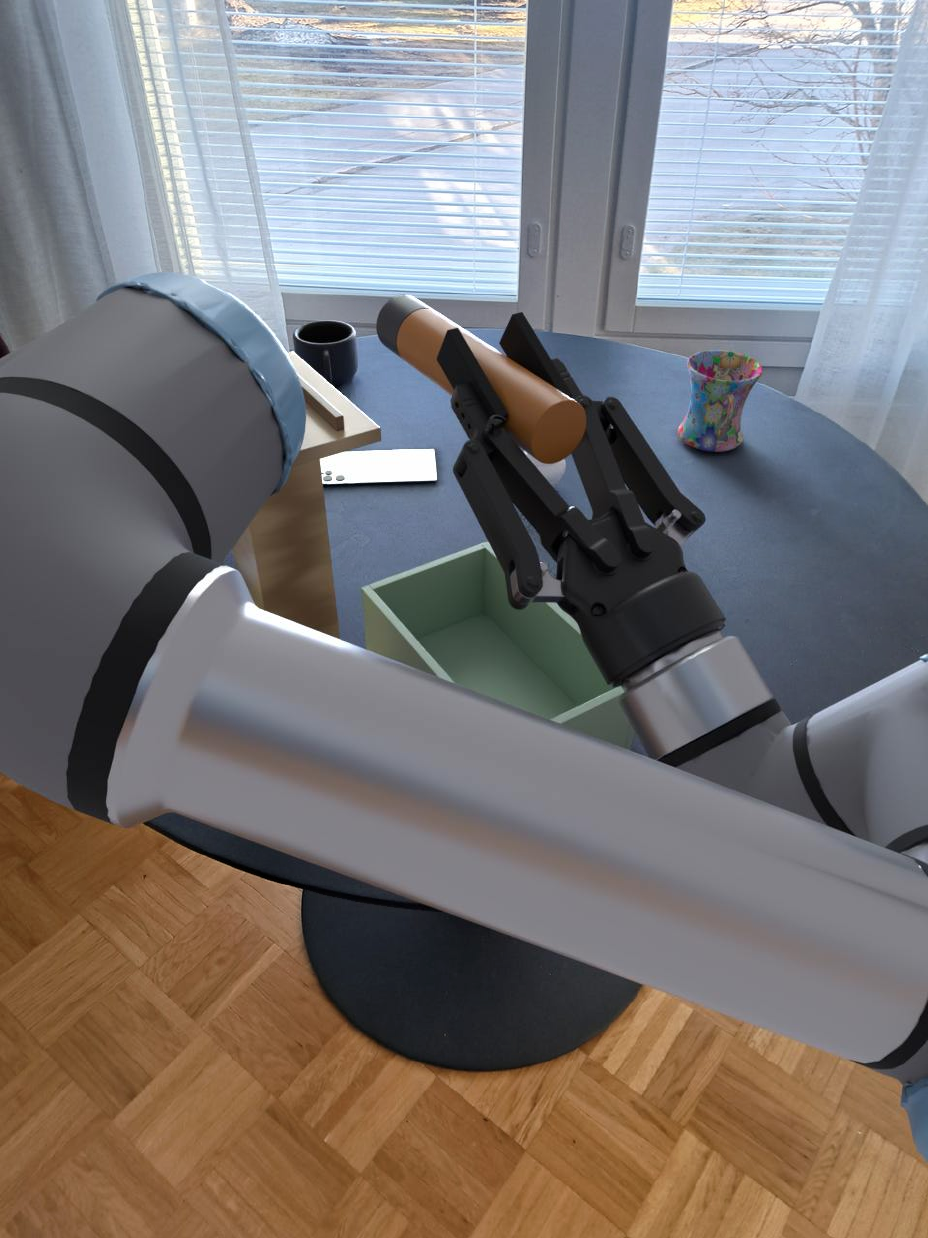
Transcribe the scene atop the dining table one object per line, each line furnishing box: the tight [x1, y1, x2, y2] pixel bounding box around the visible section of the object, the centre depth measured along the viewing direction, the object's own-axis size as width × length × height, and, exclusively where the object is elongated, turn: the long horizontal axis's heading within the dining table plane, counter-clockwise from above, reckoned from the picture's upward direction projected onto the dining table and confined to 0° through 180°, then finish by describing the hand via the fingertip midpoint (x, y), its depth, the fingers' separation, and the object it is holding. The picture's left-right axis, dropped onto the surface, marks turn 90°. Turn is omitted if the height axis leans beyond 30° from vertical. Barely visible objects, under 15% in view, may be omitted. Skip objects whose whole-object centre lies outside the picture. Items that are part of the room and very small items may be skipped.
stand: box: [231, 350, 382, 640], centre depth 68 cm, size 12×14×31 cm
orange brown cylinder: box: [375, 294, 586, 464], centre depth 57 cm, size 4×19×4 cm, turn 32°
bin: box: [360, 541, 635, 751], centre depth 76 cm, size 14×23×9 cm, turn 32°
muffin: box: [523, 450, 567, 489], centre depth 104 cm, size 6×6×7 cm
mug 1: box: [292, 319, 359, 387], centre depth 126 cm, size 12×9×7 cm
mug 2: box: [677, 349, 764, 453], centre depth 112 cm, size 12×9×11 cm
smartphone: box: [320, 448, 438, 487], centre depth 110 cm, size 8×1×16 cm
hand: (479, 336), depth 54 cm, fingers closed on orange brown cylinder, 4 cm apart
